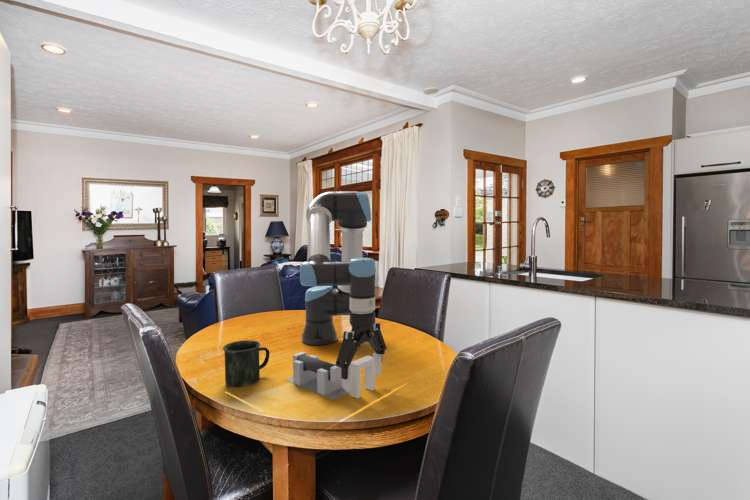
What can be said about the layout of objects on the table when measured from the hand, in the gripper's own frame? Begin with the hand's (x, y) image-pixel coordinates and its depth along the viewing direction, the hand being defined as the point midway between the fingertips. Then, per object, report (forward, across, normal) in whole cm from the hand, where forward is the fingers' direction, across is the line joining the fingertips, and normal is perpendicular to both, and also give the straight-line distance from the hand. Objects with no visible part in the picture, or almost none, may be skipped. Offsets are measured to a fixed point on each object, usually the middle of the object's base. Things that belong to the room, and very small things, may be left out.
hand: (362, 381), depth 115 cm
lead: (-1, -5, +14) cm, 15 cm away
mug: (+4, -16, +35) cm, 39 cm away
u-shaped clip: (+4, 0, 0) cm, 4 cm away
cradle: (+4, -5, +14) cm, 15 cm away
